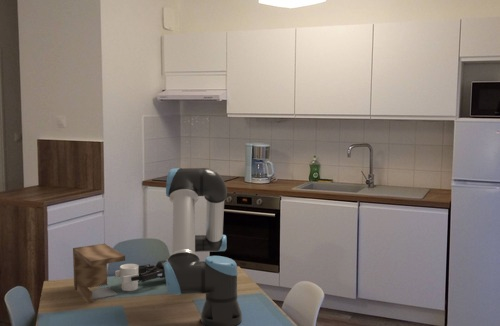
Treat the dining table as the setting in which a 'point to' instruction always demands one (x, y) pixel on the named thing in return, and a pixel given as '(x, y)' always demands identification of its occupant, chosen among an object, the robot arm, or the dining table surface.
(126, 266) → the white cup
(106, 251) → the walnut shelf
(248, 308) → the dining table surface
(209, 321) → the robot arm
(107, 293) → the felt pad
